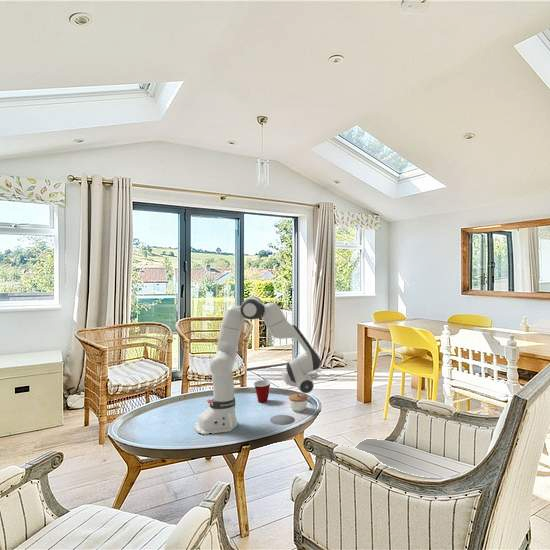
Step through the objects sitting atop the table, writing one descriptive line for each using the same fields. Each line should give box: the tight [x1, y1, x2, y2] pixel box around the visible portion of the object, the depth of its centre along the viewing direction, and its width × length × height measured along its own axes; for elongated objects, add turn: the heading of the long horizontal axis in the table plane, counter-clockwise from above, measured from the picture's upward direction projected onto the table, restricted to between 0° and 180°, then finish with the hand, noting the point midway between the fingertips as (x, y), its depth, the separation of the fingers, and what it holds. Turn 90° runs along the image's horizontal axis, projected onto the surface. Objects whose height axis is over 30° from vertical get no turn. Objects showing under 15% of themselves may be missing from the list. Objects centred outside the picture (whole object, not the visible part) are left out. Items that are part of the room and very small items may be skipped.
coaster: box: [269, 414, 296, 426], centre depth 202 cm, size 14×14×1 cm
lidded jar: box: [288, 393, 308, 413], centre depth 216 cm, size 11×11×9 cm
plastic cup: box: [253, 379, 271, 404], centre depth 231 cm, size 11×11×12 cm
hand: (297, 371), depth 217 cm, fingers closed on lid, 3 cm apart
